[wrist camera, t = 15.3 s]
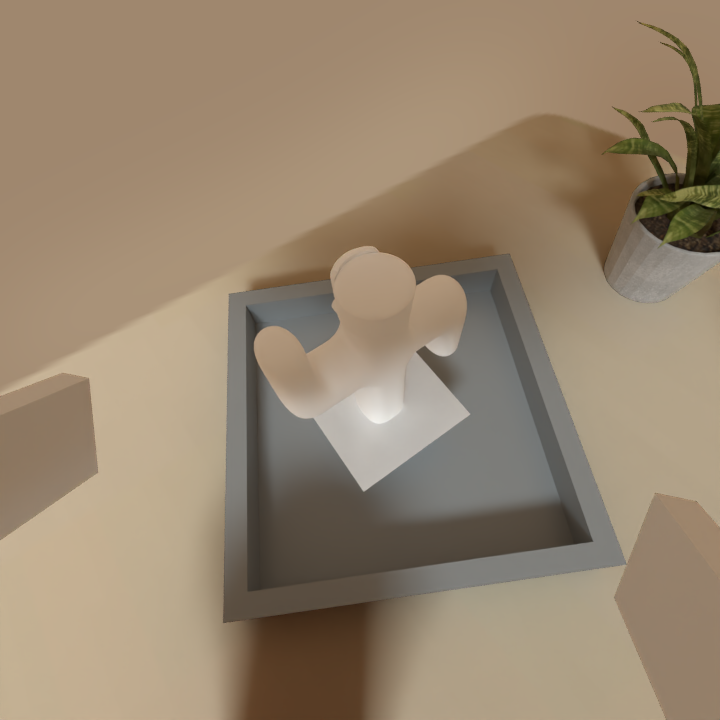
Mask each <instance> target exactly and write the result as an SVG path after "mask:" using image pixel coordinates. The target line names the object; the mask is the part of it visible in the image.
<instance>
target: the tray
mask: <svg viewBox="0 0 720 720" xmlns="http://www.w3.org/2000/svg"><path fill="white" fill-rule="evenodd" d="M411 269H412V271H413V273H414V276H415V280H416V286H417V285H418V284H420V283H422V282H423V281H425V280H427V279H429V278H431V277H433V276H436V275H447V276H450V277H452V278H453V279H455V280H456V281H457V282H458V283H459V284H460V285H461V287H462V288H463V290H464V292H465V295H466V299H467V312H466V318H465V322H464V325H463V329H462V332H461V336H460V339H459V343H458V346H457V349H456V350H455V352H454V353H452V354H451V355H449V356H439V355H436V354H434V353H433V352H431V351H430V350H429V349H428V348H427V347H426V346H424V347H422V348H420V349H419V350H417V351H416V353H417V354H418V355H419V356H420V357H421V358H422V360H423V361H424V362H425V363H426V364H427V365H428V366H429V367H430V369H431V370H432V371H433V372H434V373H435V374H436V375H437V377H438V378H439V379H440V380H441V381H442V382H443V383H444V385H445V386H446V387H447V388H448V389H449V390H450V391H451V393H452V394H453V395H454V396H455V397H456V398H457V399H458V400H459V402H460V403H461V404H462V405H463V406H464V407H465V408H466V410H467V411H468V412H469V413H470V415H469V416H468V417H466V418H465V419H463V420H462V421H461V422H459V423H458V424H456V425H455V426H454V427H452V428H451V429H450V430H448V431H447V432H445V433H444V434H443V435H441V436H440V437H439V438H437V439H436V440H434V441H433V442H432V443H430V444H429V445H428V446H426V447H425V448H423V449H422V450H421V451H419V452H418V453H417V454H415V455H414V456H412V457H411V458H410V459H408V460H407V461H406V462H404V463H403V464H401V465H400V466H399V467H397V468H396V469H395V470H393V471H392V472H390V473H389V474H388V475H386V476H385V477H384V478H382V479H381V480H379V481H378V482H377V483H375V484H374V485H372V486H371V487H370V488H368V489H367V490H366V491H364V492H363V490H362V489H361V487H360V486H359V484H358V483H357V481H356V480H355V478H354V477H353V475H352V474H351V473H350V471H349V470H348V468H347V467H346V465H345V464H344V462H343V461H342V459H341V458H340V456H339V455H338V453H337V452H336V450H335V449H334V448H333V446H332V445H331V443H330V442H329V440H328V439H327V437H326V436H325V434H324V433H323V431H322V430H321V428H320V427H319V425H318V424H317V423H316V421H315V420H314V418H308V419H303V418H299V417H297V416H295V415H294V414H293V413H291V412H290V411H289V410H288V409H287V408H286V407H285V406H284V404H283V403H282V402H281V400H280V399H279V397H278V396H277V394H276V393H275V391H274V389H273V388H272V386H271V384H270V383H269V381H268V380H267V378H266V376H265V375H264V373H263V371H262V370H261V368H260V366H259V364H258V362H257V359H256V357H255V353H254V341H255V338H256V336H257V334H258V333H259V332H260V331H261V330H262V329H264V328H266V327H269V326H279V327H282V328H284V329H286V330H288V331H289V332H290V333H292V334H293V335H294V336H295V337H296V338H297V340H298V341H299V342H300V344H301V345H302V347H303V349H304V351H305V353H306V354H307V353H309V352H310V351H312V350H314V349H315V348H317V347H318V346H320V345H322V344H323V343H325V342H326V341H328V340H329V339H330V338H331V337H332V336H333V335H334V334H335V333H336V331H337V330H338V328H339V325H340V320H339V318H338V315H337V313H336V312H335V311H334V309H333V308H332V302H333V300H334V299H335V298H334V294H333V288H332V283H331V279H329V280H322V281H315V282H308V283H301V284H294V285H287V286H280V287H273V288H266V289H260V290H253V291H246V292H239V293H232V294H229V316H228V375H227V434H226V494H225V553H224V612H223V623H226V622H233V621H240V620H247V619H254V618H261V617H268V616H275V615H282V614H288V613H295V612H302V611H309V610H316V609H323V608H330V607H337V606H344V605H351V604H357V603H364V602H371V601H378V600H385V599H392V598H399V597H406V596H413V595H420V594H426V593H433V592H440V591H447V590H454V589H461V588H468V587H475V586H482V585H489V584H495V583H502V582H509V581H516V580H523V579H530V578H537V577H544V576H551V575H558V574H564V573H571V572H578V571H585V570H592V569H599V568H606V567H613V566H620V565H627V564H626V561H625V559H624V556H623V553H622V551H621V548H620V545H619V543H618V540H617V537H616V535H615V532H614V529H613V527H612V524H611V521H610V519H609V516H608V514H607V511H606V508H605V506H604V503H603V500H602V498H601V495H600V492H599V490H598V487H597V484H596V482H595V479H594V476H593V474H592V471H591V468H590V466H589V463H588V460H587V458H586V455H585V452H584V450H583V447H582V445H581V442H580V439H579V437H578V434H577V431H576V429H575V426H574V423H573V421H572V418H571V415H570V413H569V410H568V407H567V405H566V402H565V399H564V397H563V394H562V391H561V389H560V386H559V383H558V381H557V378H556V376H555V373H554V370H553V368H552V365H551V362H550V360H549V357H548V354H547V352H546V349H545V346H544V344H543V341H542V338H541V336H540V333H539V330H538V328H537V325H536V322H535V320H534V317H533V315H532V312H531V309H530V307H529V304H528V301H527V299H526V296H525V293H524V291H523V288H522V285H521V283H520V280H519V277H518V275H517V272H516V269H515V267H514V264H513V261H512V259H511V256H510V254H503V255H496V256H489V257H482V258H475V259H468V260H461V261H454V262H447V263H440V264H434V265H427V266H420V267H413V268H411Z"/></svg>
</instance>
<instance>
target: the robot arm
mask: <svg viewBox="0 0 720 720" xmlns="http://www.w3.org/2000/svg"><path fill="white" fill-rule="evenodd" d="M96 473H98V466H97V456H96V446H95V435H94V425H93V415H92V404H91V394H90V384H89V378H86V377H81V376H76V375H71V374H66V373H61V374H58V375H56V376H53V377H50V378H48V379H45V380H42V381H40V382H37V383H34V384H32V385H29V386H26V387H24V388H21V389H19V390H16V391H13V392H11V393H8V394H5V395H3V396H0V540H1V539H3V538H4V537H6V536H7V535H9V534H10V533H11V532H13V531H14V530H16V529H17V528H19V527H20V526H21V525H23V524H24V523H26V522H27V521H29V520H30V519H32V518H33V517H34V516H36V515H37V514H39V513H40V512H42V511H43V510H45V509H46V508H47V507H49V506H50V505H52V504H53V503H55V502H56V501H58V500H59V499H60V498H62V497H63V496H65V495H66V494H68V493H69V492H70V491H72V490H73V489H75V488H76V487H78V486H79V485H81V484H82V483H83V482H85V481H86V480H88V479H89V478H91V477H92V476H94V475H95V474H96ZM614 598H615V601H616V603H617V605H618V608H619V610H620V612H621V615H622V617H623V619H624V622H625V624H626V626H627V629H628V631H629V634H630V636H631V638H632V641H633V643H634V645H635V648H636V650H637V652H638V655H639V657H640V659H641V662H642V664H643V666H644V669H645V671H646V673H647V676H648V678H649V680H650V683H651V685H652V687H653V690H654V692H655V694H656V697H657V699H658V701H659V704H660V706H661V708H662V711H663V713H664V715H665V718H666V720H720V528H719V526H718V525H717V524H716V523H715V522H714V521H713V520H712V518H711V517H710V516H709V515H708V514H707V513H706V512H705V510H704V509H703V508H702V507H701V506H700V505H699V504H698V502H697V501H692V500H687V499H682V498H677V497H673V496H668V495H663V494H658V493H655V494H654V497H653V499H652V502H651V504H650V507H649V510H648V512H647V515H646V517H645V520H644V522H643V525H642V527H641V530H640V533H639V535H638V538H637V540H636V543H635V545H634V548H633V550H632V553H631V555H630V558H629V561H628V563H627V566H626V568H625V571H624V573H623V576H622V578H621V581H620V583H619V586H618V589H617V591H616V594H615V596H614Z"/></svg>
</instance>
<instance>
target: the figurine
mask: <svg viewBox="0 0 720 720" xmlns="http://www.w3.org/2000/svg"><path fill="white" fill-rule="evenodd" d="M330 278H331V283H332V288H333V294H334V298H335V299H334V300H333V302H332V308H333V309H334V311H335V312H336V313H337V315H338V318H339V320H340V325H339V328H338V330H337V331H336V333H335V334H334V335H333V336H332V337H331V338H330V339H329V340H328V341H326V342H325V343H323V344H322V345H320V346H318V347H317V348H315V349H314V350H312V351H310V352H309V353H307V354H306V353H305V351H304V349H303V347H302V345H301V344H300V342H299V341H298V340H297V338H296V337H295V336H294V335H293V334H292V333H290V332H289V331H288V330H286V329H284V328H282V327H279V326H269V327H266V328H264V329H262V330H261V331H260V332H259V333H258V334H257V336H256V338H255V341H254V353H255V357H256V359H257V362H258V364H259V366H260V368H261V370H262V371H263V373H264V375H265V376H266V378H267V380H268V381H269V383H270V384H271V386H272V388H273V389H274V391H275V393H276V394H277V396H278V397H279V399H280V400H281V402H282V403H283V404H284V406H285V407H286V408H287V409H288V410H289V411H290V412H291V413H293V414H294V415H295V416H297V417H299V418H303V419H308V418H314V420H315V421H316V423H317V424H318V425H319V427H320V428H321V430H322V431H323V433H324V434H325V436H326V437H327V439H328V440H329V442H330V443H331V445H332V446H333V448H334V449H335V450H336V452H337V453H338V455H339V456H340V458H341V459H342V461H343V462H344V464H345V465H346V467H347V468H348V470H349V471H350V473H351V474H352V475H353V477H354V478H355V480H356V481H357V483H358V484H359V486H360V487H361V489H362V490H363V492H364V491H366V490H367V489H368V488H370V487H371V486H372V485H374V484H375V483H377V482H378V481H379V480H381V479H382V478H384V477H385V476H386V475H388V474H389V473H390V472H392V471H393V470H395V469H396V468H397V467H399V466H400V465H401V464H403V463H404V462H406V461H407V460H408V459H410V458H411V457H412V456H414V455H415V454H417V453H418V452H419V451H421V450H422V449H423V448H425V447H426V446H428V445H429V444H430V443H432V442H433V441H434V440H436V439H437V438H439V437H440V436H441V435H443V434H444V433H445V432H447V431H448V430H450V429H451V428H452V427H454V426H455V425H456V424H458V423H459V422H461V421H462V420H463V419H465V418H466V417H468V416H469V415H470V413H469V412H468V411H467V410H466V408H465V407H464V406H463V405H462V404H461V403H460V402H459V400H458V399H457V398H456V397H455V396H454V395H453V394H452V393H451V391H450V390H449V389H448V388H447V387H446V386H445V385H444V383H443V382H442V381H441V380H440V379H439V378H438V377H437V375H436V374H435V373H434V372H433V371H432V370H431V369H430V367H429V366H428V365H427V364H426V363H425V362H424V361H423V360H422V358H421V357H420V356H419V355H418V354H417V353H416V351H417V350H419V349H420V348H422V347H424V346H426V347H427V348H428V349H429V350H430V351H431V352H433V353H434V354H436V355H439V356H449V355H451V354H452V353H454V352H455V350H456V349H457V346H458V343H459V339H460V336H461V332H462V329H463V325H464V322H465V318H466V312H467V299H466V295H465V292H464V290H463V288H462V287H461V285H460V284H459V283H458V282H457V281H456V280H455V279H453V278H452V277H450V276H447V275H436V276H433V277H431V278H429V279H427V280H425V281H423V282H422V283H420V284H418V285H417V286H416V280H415V276H414V273H413V271H412V269H411V268H410V267H409V265H408V264H407V263H406V262H405V261H403V260H402V259H400V258H399V257H397V256H394V255H392V254H388V253H382V252H379V250H378V249H377V248H375V247H374V246H362V247H358V248H355V249H352V250H350V251H347V252H346V253H344V254H343V255H342V256H341V257H340V258H339V259H338V260H337V261H336V262H335V263H334V265H333V267H332V269H331V272H330Z"/></svg>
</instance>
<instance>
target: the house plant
mask: <svg viewBox="0 0 720 720" xmlns="http://www.w3.org/2000/svg"><path fill="white" fill-rule="evenodd" d="M639 23H640V22H639ZM640 24H642V25H645V26H647V27H649V28H652V29H654V30H656V31H658V32H660V33H662V34H663V35H665V36H666V37H668V38H670V39H671V40H672V41H673V42H674V43H676V44H677V46H678V47H679V48H680V49H681V50H682V51H683V53H682V52H681V51H680V50H678V49H677V48H675V47H673V46H671V45H668V44H665V43H662V44H664V45H666V46H668V47H670V48H672V49H674V50H675V51H676V52H678V53H679V54H680V55H682V56H683V58H684V59H685V61H686V62H687V64H688V65H689V68H690V71H691V73H692V76H693V82H694V93H695V107H693V108H692V113H691V112H690V111H689V110H688V109H687V108H686V107H685V106H683V105H682V104H681V103H670V104H664V105H657V106H652V107H650V108H648V109H646V110H644V111H643V112H685V113H689V114H692V118H693V122H694V127H695V131H694V129H693V127H692V126H691V125H690V124H689V123H687V122H685V121H683V120H678V119H676V118H674V117H664V118H660V119H657V120H655V121H653V122H656V121H662V120H678V121H680V123H681V124H682V125H683V127H684V130H685V133H686V138H687V148H688V153H687V164H686V174H683V173H677V167H676V165H675V163H674V161H673V160H672V158H671V156H670V154H669V153H668V151H667V150H665V149H664V148H663V147H662V146H660V145H659V144H657V143H654V142H651V141H650V139H649V137H648V134H647V132H646V130H645V128H644V126H643V124H642V123H641V122H640V121H639V120H638V119H636V118H635V117H633V116H632V115H630V114H629V113H627V112H625V111H623V110H620V109H616V108H614V109H615V110H617V111H618V112H620V113H621V114H623V115H624V116H625V117H627V118H628V119H629V120H630V121H631V122H632V123H633V125H634V126H635V127H636V129H637V130H638V132H639V134H640V136H641V138H642V139H641V138H630V139H626V140H623V141H621V142H619V143H617V144H615V145H614V146H612V147H611V148H609V149H608V150H606V151H605V152H604V153H606V152H610V153H618V154H644V155H648V157H649V159H650V160H651V162H652V164H653V165H654V167H655V169H656V172H657V174H658V176H655V177H652V178H650V179H648V180H646V181H645V182H643V183H641V184H640V185H639V186H638V187H637V188H636V189H635V191H634V192H633V193H632V196H631V199H630V201H629V204H628V206H627V209H626V211H625V214H624V216H623V219H622V221H621V224H620V227H619V229H618V232H617V234H616V237H615V239H614V242H613V244H612V247H611V249H610V252H609V255H608V257H607V260H606V262H605V265H604V274H605V277H606V279H607V281H608V283H609V284H610V285H611V287H612V288H613V289H614V290H616V291H617V292H618V293H619V294H621V295H623V296H624V297H626V298H628V299H631V300H634V301H637V302H644V303H654V302H660V301H663V300H666V299H667V298H669V297H670V296H671V295H673V294H674V293H676V292H677V291H679V290H680V289H682V288H683V287H684V286H686V285H687V284H689V283H690V282H692V281H693V280H695V279H696V278H698V277H699V276H700V275H702V274H703V273H705V272H706V271H708V270H709V269H711V268H712V267H714V266H715V265H716V264H718V263H719V262H720V104H715V105H702V96H701V87H700V81H699V76H698V71H697V66H696V64H695V62H694V59H693V57H692V55H691V53H690V51H689V49H688V48H687V47H686V46H685V45H684V44H683V43H682V42H681V41H680V40H679V39H678V38H676V37H675V36H673V35H671V34H670V33H668V32H666V31H664V30H662V29H660V28H657V27H655V26H652V25H648V24H644V23H640ZM696 85H697V88H696ZM697 92H698V100H699V106H697ZM604 153H603V154H604ZM656 156H658V157H662V158H663V159H665V160H666V161H667V162H669V164H670V165H671V167H672V169H673V170H674V172H675V173H671V174H664V172H663V170H662V168H661V166H660V164H659V162H658V160H657V157H656Z"/></svg>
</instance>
